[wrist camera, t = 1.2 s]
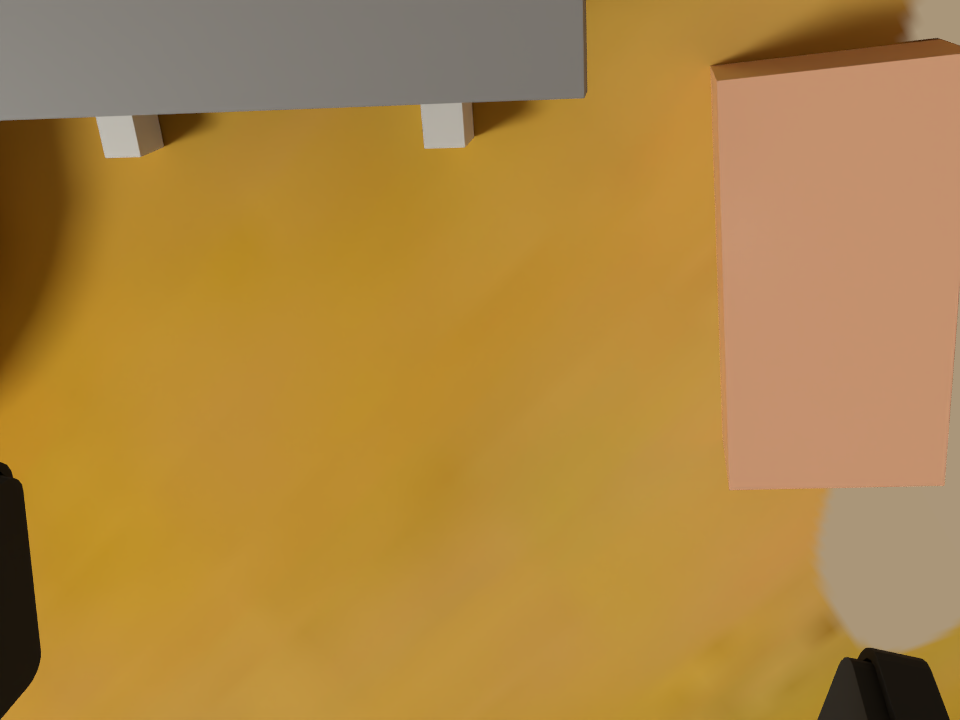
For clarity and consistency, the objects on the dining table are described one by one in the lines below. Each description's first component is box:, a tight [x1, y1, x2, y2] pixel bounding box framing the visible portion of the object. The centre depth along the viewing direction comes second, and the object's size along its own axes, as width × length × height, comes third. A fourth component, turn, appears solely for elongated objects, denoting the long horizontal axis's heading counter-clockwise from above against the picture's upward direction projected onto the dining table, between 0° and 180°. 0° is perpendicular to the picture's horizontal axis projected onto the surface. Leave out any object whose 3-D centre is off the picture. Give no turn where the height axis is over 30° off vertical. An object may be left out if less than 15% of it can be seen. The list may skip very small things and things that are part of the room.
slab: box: [710, 38, 960, 490], centre depth 26 cm, size 12×6×4 cm, turn 8°
